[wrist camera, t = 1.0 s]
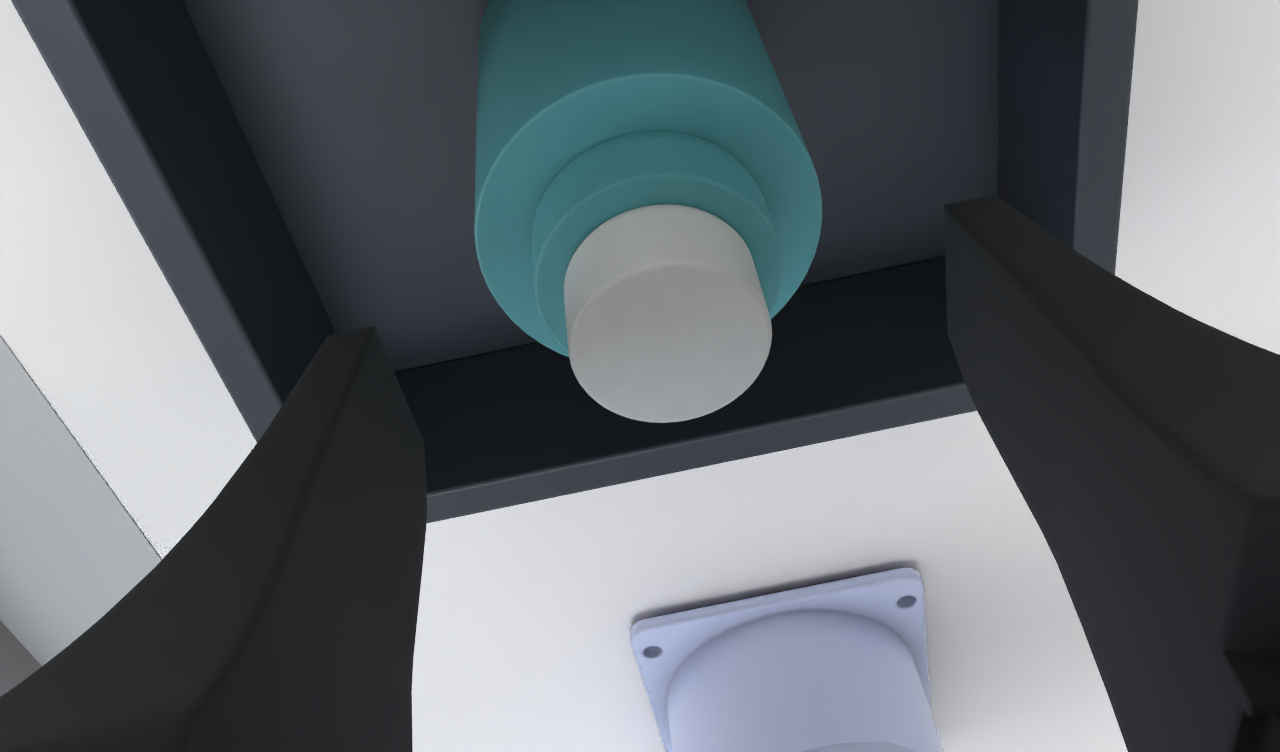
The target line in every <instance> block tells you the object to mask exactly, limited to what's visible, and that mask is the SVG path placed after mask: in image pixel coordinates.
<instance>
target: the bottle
mask: <svg viewBox="0 0 1280 752" xmlns="http://www.w3.org/2000/svg"><path fill="white" fill-rule="evenodd" d="M821 223H822V196H821V191H820V186H819V180H818V176H817V174H816V171H815V168H814V165H813V162H812V160H811V157H810V155H809V152H808V150H807V147H806V145H805V143H804V140H803V138H802V135H801V133H800V131H799V128H798V126H797V123H796V121H795V118H794V116H793V114H792V111H791V109H790V106H789V104H788V101H787V99H786V97H785V94H784V92H783V89H782V87H781V85H780V82H779V80H778V77H777V75H776V72H775V70H774V68H773V65H772V63H771V60H770V58H769V56H768V53H767V51H766V48H765V46H764V43H763V41H762V39H761V36H760V34H759V31H758V29H757V26H756V24H755V22H754V19H753V17H752V14H751V12H750V10H749V7H748V5H747V2H746V0H489V1H488V4H487V7H486V10H485V13H484V15H483V18H482V23H481V28H480V33H479V44H478V78H477V127H476V176H475V224H474V234H475V245H476V253H477V257H478V261H479V265H480V269H481V272H482V274H483V276H484V279H485V281H486V283H487V286H488V288H489V290H490V291H491V293H492V295H493V296H494V298H495V299H496V301H497V303H498V304H499V306H500V307H501V308H502V309H503V310H504V312H505V313H506V314H507V315H508V316H509V318H510V319H511V320H512V321H513V322H514V323H515V324H516V325H518V326H519V327H520V328H521V329H522V330H523V331H524V332H525V333H527V334H528V335H529V336H531V337H532V338H534V339H535V340H537V341H538V342H539V343H541V344H542V345H544V346H546V347H548V348H550V349H552V350H554V351H556V352H557V353H559V354H562V355H565V356H567V357H569V359H570V363H571V367H572V370H573V372H574V375H575V377H576V378H577V380H578V382H579V383H580V385H581V386H582V387H583V389H584V390H585V391H586V392H587V393H588V395H589V396H591V397H592V398H593V399H594V400H595V401H596V402H597V403H599V404H600V405H602V406H603V407H605V408H606V409H608V410H610V411H612V412H614V413H616V414H618V415H621V416H624V417H626V418H630V419H634V420H638V421H645V422H656V423H667V422H679V421H685V420H690V419H694V418H698V417H701V416H704V415H706V414H709V413H712V412H714V411H716V410H718V409H720V408H722V407H724V406H725V405H727V404H729V403H730V402H732V401H733V400H735V399H736V398H737V397H739V396H740V395H741V394H742V393H743V392H744V391H745V390H746V389H747V388H749V387H750V386H751V384H752V383H753V382H754V381H755V379H756V378H757V377H758V375H759V373H760V372H761V370H762V369H763V367H764V364H765V362H766V360H767V357H768V355H769V351H770V347H771V340H772V325H771V319H772V318H773V317H774V316H775V315H776V314H777V313H778V312H779V311H780V310H781V309H782V308H783V307H784V306H785V305H786V303H787V302H788V301H789V299H790V298H791V297H792V296H793V294H794V293H795V292H796V290H797V289H798V287H799V286H800V284H801V282H802V280H803V279H804V277H805V275H806V274H807V272H808V269H809V267H810V265H811V262H812V260H813V258H814V255H815V252H816V248H817V245H818V241H819V237H820V231H821Z"/></svg>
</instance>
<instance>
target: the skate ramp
mask: <svg viewBox="0 0 1280 752" xmlns="http://www.w3.org/2000/svg"><path fill="white" fill-rule="evenodd" d="M160 561H161V559H160V557H159V556H158V555H157V553H156V552H155V551H154V549H153V548H152V546H151V545H150V544H149V542H148V541H147V539H146V538H145V537H144V535H143V534H142V532H141V531H140V530H139V528H138V527H137V526H136V524H135V523H134V521H133V520H132V519H131V517H130V516H129V514H128V513H127V512H126V510H125V509H124V507H123V506H122V505H121V503H120V502H119V501H118V499H117V498H116V496H115V495H114V494H113V492H112V491H111V489H110V488H109V487H108V485H107V484H106V482H105V481H104V480H103V478H102V477H101V476H100V474H99V473H98V471H97V470H96V469H95V467H94V466H93V464H92V463H91V462H90V460H89V459H88V457H87V456H86V455H85V453H84V452H83V451H82V449H81V448H80V446H79V445H78V444H77V442H76V441H75V439H74V438H73V437H72V435H71V434H70V432H69V431H68V430H67V428H66V427H65V425H64V424H63V423H62V421H61V420H60V419H59V417H58V416H57V414H56V413H55V412H54V410H53V409H52V407H51V406H50V405H49V403H48V402H47V400H46V399H45V398H44V396H43V395H42V394H41V392H40V391H39V389H38V388H37V387H36V385H35V384H34V382H33V381H32V380H31V378H30V377H29V375H28V374H27V373H26V371H25V370H24V369H23V367H22V366H21V364H20V363H19V362H18V360H17V359H16V357H15V356H14V355H13V353H12V352H11V350H10V349H9V348H8V346H7V345H6V344H5V342H4V341H3V339H2V338H1V337H0V697H1V696H2V695H4V694H5V693H7V692H8V691H9V690H11V689H12V688H14V687H15V686H17V685H18V684H19V683H21V682H22V681H23V680H25V679H26V678H27V677H29V676H30V675H31V674H33V673H34V672H35V671H37V670H38V669H39V668H41V667H42V666H43V665H44V664H46V663H47V662H48V661H50V660H51V659H52V658H53V657H55V656H56V655H57V654H58V653H60V652H61V651H62V650H64V649H65V648H66V647H67V646H69V645H70V644H71V643H72V642H73V641H75V640H76V639H77V638H78V637H79V636H80V635H82V634H83V633H84V632H85V631H86V630H88V629H89V628H90V627H91V626H92V625H94V624H95V623H96V622H97V621H98V620H99V619H100V618H102V617H103V616H104V615H105V614H106V613H107V612H108V611H109V610H110V609H111V608H112V607H113V606H114V605H116V604H117V603H118V602H119V601H120V600H121V599H122V598H123V597H124V596H125V595H126V594H127V593H128V592H129V591H130V590H131V589H132V588H134V587H135V586H136V585H137V584H138V583H139V582H140V581H141V580H142V579H143V578H144V577H145V576H146V575H147V574H148V573H149V572H150V571H152V570H153V569H154V568H155V567H156V566H157V564H158V563H159V562H160Z"/></svg>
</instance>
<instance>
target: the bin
mask: <svg viewBox="0 0 1280 752" xmlns="http://www.w3.org/2000/svg"><path fill="white" fill-rule="evenodd" d="M11 1H12V3H13V5H14V6H15V8H16V10H17V12H18V14H19V15H20V17H21V19H22V21H23V23H24V24H25V26H26V28H27V30H28V32H29V33H30V35H31V37H32V39H33V41H34V42H35V44H36V46H37V48H38V50H39V51H40V53H41V55H42V57H43V59H44V60H45V62H46V64H47V66H48V68H49V69H50V71H51V73H52V75H53V76H54V78H55V80H56V82H57V84H58V85H59V87H60V89H61V91H62V93H63V94H64V96H65V98H66V100H67V102H68V103H69V105H70V107H71V109H72V111H73V112H74V114H75V116H76V118H77V120H78V121H79V123H80V125H81V127H82V129H83V130H84V132H85V134H86V136H87V138H88V139H89V141H90V143H91V145H92V147H93V148H94V150H95V152H96V154H97V156H98V157H99V159H100V161H101V163H102V165H103V166H104V168H105V170H106V172H107V174H108V175H109V177H110V179H111V181H112V183H113V184H114V186H115V188H116V190H117V192H118V193H119V195H120V197H121V199H122V201H123V202H124V204H125V206H126V208H127V210H128V211H129V213H130V215H131V217H132V219H133V220H134V222H135V224H136V226H137V228H138V229H139V231H140V233H141V235H142V237H143V238H144V240H145V242H146V244H147V246H148V247H149V249H150V251H151V253H152V255H153V256H154V258H155V260H156V262H157V264H158V265H159V267H160V269H161V271H162V272H163V274H164V276H165V278H166V280H167V281H168V283H169V285H170V287H171V289H172V290H173V292H174V294H175V296H176V298H177V299H178V301H179V303H180V305H181V307H182V308H183V310H184V312H185V314H186V316H187V317H188V319H189V321H190V323H191V325H192V326H193V328H194V330H195V332H196V334H197V335H198V337H199V339H200V341H201V343H202V344H203V346H204V348H205V350H206V352H207V353H208V355H209V357H210V359H211V361H212V362H213V364H214V366H215V368H216V370H217V371H218V373H219V375H220V377H221V379H222V380H223V382H224V384H225V386H226V388H227V389H228V391H229V393H230V395H231V397H232V398H233V400H234V402H235V404H236V406H237V407H238V409H239V411H240V413H241V415H242V416H243V418H244V420H245V422H246V424H247V425H248V427H249V429H250V431H251V433H252V434H253V436H254V438H255V440H256V442H257V443H258V441H259V440H260V438H261V437H262V435H263V434H264V432H265V431H266V429H267V428H268V426H269V425H270V423H271V422H272V421H273V419H274V418H275V416H276V415H277V413H278V412H279V410H280V408H281V407H282V405H283V404H284V402H285V401H286V399H287V398H288V396H289V395H290V393H291V391H292V390H293V388H294V387H295V385H296V384H297V382H298V381H299V379H300V377H301V376H302V374H303V373H304V371H305V370H306V368H307V367H308V365H309V363H310V362H311V360H312V359H313V357H314V356H315V354H316V353H317V351H318V350H319V348H320V347H321V345H322V344H323V342H324V341H325V339H326V338H327V336H330V335H335V334H340V333H344V332H349V331H354V330H359V329H363V328H368V327H373V326H375V329H376V331H377V333H378V336H379V338H380V340H381V343H382V345H383V347H384V350H385V352H386V354H387V357H388V359H389V361H390V364H391V366H392V368H393V371H394V373H395V375H396V378H397V380H398V382H399V385H400V387H401V389H402V392H403V394H404V396H405V399H406V401H407V403H408V406H409V408H410V410H411V413H412V415H413V417H414V420H415V422H416V424H417V427H418V429H419V431H420V434H421V436H422V438H423V441H424V448H425V466H426V487H427V520H426V523H430V522H435V521H440V520H445V519H450V518H455V517H460V516H465V515H470V514H474V513H479V512H484V511H489V510H494V509H499V508H504V507H509V506H513V505H518V504H523V503H528V502H533V501H538V500H543V499H548V498H553V497H557V496H562V495H567V494H572V493H577V492H582V491H587V490H592V489H597V488H601V487H606V486H611V485H616V484H621V483H626V482H631V481H636V480H640V479H645V478H650V477H655V476H660V475H665V474H670V473H675V472H680V471H684V470H689V469H694V468H699V467H704V466H709V465H714V464H719V463H723V462H728V461H733V460H738V459H743V458H748V457H753V456H758V455H763V454H767V453H772V452H777V451H782V450H787V449H792V448H797V447H802V446H806V445H811V444H816V443H821V442H826V441H831V440H836V439H841V438H846V437H850V436H855V435H860V434H865V433H870V432H875V431H880V430H885V429H890V428H894V427H899V426H904V425H909V424H914V423H919V422H924V421H929V420H933V419H938V418H943V417H948V416H953V415H958V414H963V413H968V412H973V411H977V409H976V407H975V405H974V403H973V401H972V399H971V397H970V394H969V391H968V389H967V386H966V383H965V381H964V378H963V376H962V373H961V370H960V367H959V365H958V362H957V359H956V356H955V353H954V351H953V348H952V345H951V342H950V339H949V336H948V334H947V297H946V260H945V223H944V205H945V204H950V203H954V202H959V201H964V200H968V199H973V198H978V197H982V196H987V195H992V194H994V195H996V196H997V197H999V198H1000V199H1002V200H1003V201H1005V202H1006V203H1007V204H1009V205H1010V206H1012V207H1013V208H1015V209H1016V210H1017V211H1019V212H1020V213H1022V214H1023V215H1025V216H1026V217H1027V218H1029V219H1030V220H1032V221H1033V222H1035V223H1036V224H1037V225H1039V226H1040V227H1042V228H1043V229H1045V230H1046V231H1047V232H1049V233H1050V234H1052V235H1053V236H1055V237H1056V238H1058V239H1059V240H1061V241H1062V242H1064V243H1065V244H1067V245H1068V246H1070V247H1071V248H1073V249H1074V250H1076V251H1077V252H1079V253H1080V254H1082V255H1083V256H1085V257H1086V258H1088V259H1089V260H1091V261H1093V262H1094V263H1096V264H1097V265H1099V266H1100V267H1102V268H1104V269H1105V270H1107V271H1108V272H1110V273H1112V274H1113V275H1115V265H1116V254H1117V242H1118V231H1119V219H1120V207H1121V196H1122V184H1123V173H1124V161H1125V149H1126V138H1127V126H1128V115H1129V103H1130V91H1131V80H1132V68H1133V57H1134V45H1135V33H1136V22H1137V10H1138V0H746V2H747V5H748V7H749V10H750V12H751V14H752V17H753V19H754V22H755V24H756V26H757V29H758V31H759V34H760V36H761V39H762V41H763V43H764V46H765V48H766V51H767V53H768V56H769V58H770V60H771V63H772V65H773V68H774V70H775V72H776V75H777V77H778V80H779V82H780V85H781V87H782V89H783V92H784V94H785V97H786V99H787V101H788V104H789V106H790V109H791V111H792V114H793V116H794V118H795V121H796V123H797V126H798V128H799V131H800V133H801V135H802V138H803V140H804V143H805V145H806V147H807V150H808V152H809V155H810V157H811V160H812V162H813V165H814V168H815V171H816V174H817V176H818V180H819V186H820V191H821V196H822V223H821V231H820V237H819V241H818V245H817V248H816V252H815V255H814V258H813V260H812V262H811V265H810V267H809V269H808V272H807V274H806V275H805V277H804V279H803V280H802V282H801V284H800V286H799V287H798V289H797V290H796V292H795V293H794V294H793V296H792V297H791V298H790V299H789V301H788V302H787V303H786V305H785V306H784V307H783V308H782V309H781V310H780V311H779V312H778V313H777V314H776V315H775V316H774V317H773V318H772V319H771V325H772V340H771V347H770V351H769V355H768V357H767V360H766V362H765V364H764V367H763V369H762V370H761V372H760V373H759V375H758V377H757V378H756V379H755V381H754V382H753V383H752V384H751V386H750V387H749V388H747V389H746V390H745V391H744V392H743V393H742V394H741V395H740V396H739V397H737V398H736V399H735V400H733V401H732V402H730V403H729V404H727V405H725V406H724V407H722V408H720V409H718V410H716V411H714V412H712V413H709V414H706V415H704V416H701V417H698V418H694V419H690V420H685V421H679V422H667V423H656V422H645V421H638V420H634V419H630V418H626V417H624V416H621V415H618V414H616V413H614V412H612V411H610V410H608V409H606V408H605V407H603V406H602V405H600V404H599V403H597V402H596V401H595V400H594V399H593V398H592V397H591V396H589V395H588V393H587V392H586V391H585V390H584V389H583V387H582V386H581V385H580V383H579V382H578V380H577V378H576V377H575V375H574V372H573V370H572V367H571V363H570V359H569V357H567V356H565V355H562V354H559V353H557V352H556V351H554V350H552V349H550V348H548V347H546V346H544V345H542V344H541V343H539V342H538V341H537V340H535V339H534V338H532V337H531V336H529V335H528V334H527V333H525V332H524V331H523V330H522V329H521V328H520V327H519V326H518V325H516V324H515V323H514V322H513V321H512V320H511V319H510V318H509V316H508V315H507V314H506V313H505V312H504V310H503V309H502V308H501V307H500V306H499V304H498V303H497V301H496V299H495V298H494V296H493V295H492V293H491V291H490V290H489V288H488V286H487V283H486V281H485V279H484V276H483V274H482V272H481V269H480V265H479V261H478V257H477V253H476V245H475V234H474V224H475V176H476V127H477V78H478V44H479V33H480V28H481V23H482V18H483V15H484V13H485V10H486V7H487V4H488V1H489V0H11Z"/></svg>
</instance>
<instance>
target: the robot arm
mask: <svg viewBox="0 0 1280 752" xmlns="http://www.w3.org/2000/svg"><path fill="white" fill-rule="evenodd" d="M944 223H945V260H946V297H947V334H948V336H949V339H950V342H951V345H952V348H953V351H954V353H955V356H956V359H957V362H958V365H959V367H960V370H961V373H962V376H963V378H964V381H965V383H966V386H967V389H968V391H969V394H970V397H971V399H972V401H973V403H974V405H975V407H976V409H977V411H978V413H979V415H980V417H981V419H982V421H983V422H984V424H985V426H986V428H987V430H988V432H989V434H990V436H991V438H992V439H993V441H994V443H995V445H996V447H997V449H998V451H999V453H1000V454H1001V456H1002V458H1003V460H1004V462H1005V464H1006V466H1007V467H1008V469H1009V471H1010V473H1011V475H1012V477H1013V479H1014V480H1015V482H1016V484H1017V486H1018V488H1019V490H1020V492H1021V493H1022V495H1023V497H1024V499H1025V501H1026V503H1027V505H1028V506H1029V508H1030V510H1031V512H1032V514H1033V516H1034V518H1035V519H1036V521H1037V523H1038V525H1039V527H1040V529H1041V531H1042V532H1043V534H1044V537H1045V539H1046V541H1047V543H1048V545H1049V547H1050V549H1051V551H1052V553H1053V555H1054V558H1055V560H1056V562H1057V564H1058V567H1059V569H1060V572H1061V574H1062V577H1063V579H1064V582H1065V584H1066V587H1067V589H1068V592H1069V594H1070V597H1071V599H1072V602H1073V604H1074V607H1075V609H1076V612H1077V614H1078V617H1079V619H1080V622H1081V624H1082V627H1083V629H1084V632H1085V635H1086V637H1087V640H1088V643H1089V645H1090V648H1091V651H1092V653H1093V656H1094V659H1095V661H1096V664H1097V667H1098V669H1099V672H1100V675H1101V677H1102V680H1103V683H1104V685H1105V688H1106V691H1107V693H1108V696H1109V699H1110V702H1111V704H1112V707H1113V710H1114V713H1115V716H1116V719H1117V721H1118V724H1119V727H1120V730H1121V733H1122V736H1123V738H1124V741H1125V744H1126V747H1127V750H1128V752H1280V355H1278V354H1275V353H1273V352H1270V351H1268V350H1265V349H1262V348H1260V347H1257V346H1255V345H1252V344H1250V343H1247V342H1245V341H1243V340H1240V339H1238V338H1236V337H1234V336H1231V335H1229V334H1227V333H1225V332H1222V331H1220V330H1218V329H1216V328H1213V327H1211V326H1209V325H1207V324H1204V323H1202V322H1200V321H1198V320H1196V319H1194V318H1192V317H1190V316H1188V315H1186V314H1184V313H1182V312H1180V311H1178V310H1176V309H1174V308H1172V307H1170V306H1168V305H1166V304H1165V303H1163V302H1161V301H1159V300H1157V299H1155V298H1154V297H1152V296H1150V295H1148V294H1146V293H1144V292H1143V291H1141V290H1139V289H1137V288H1135V287H1134V286H1132V285H1130V284H1129V283H1127V282H1125V281H1123V280H1122V279H1120V278H1118V277H1117V276H1115V275H1113V274H1112V273H1110V272H1108V271H1107V270H1105V269H1104V268H1102V267H1100V266H1099V265H1097V264H1096V263H1094V262H1093V261H1091V260H1089V259H1088V258H1086V257H1085V256H1083V255H1082V254H1080V253H1079V252H1077V251H1076V250H1074V249H1073V248H1071V247H1070V246H1068V245H1067V244H1065V243H1064V242H1062V241H1061V240H1059V239H1058V238H1056V237H1055V236H1053V235H1052V234H1050V233H1049V232H1047V231H1046V230H1045V229H1043V228H1042V227H1040V226H1039V225H1037V224H1036V223H1035V222H1033V221H1032V220H1030V219H1029V218H1027V217H1026V216H1025V215H1023V214H1022V213H1020V212H1019V211H1017V210H1016V209H1015V208H1013V207H1012V206H1010V205H1009V204H1007V203H1006V202H1005V201H1003V200H1002V199H1000V198H999V197H997V196H996V195H994V194H992V195H987V196H982V197H978V198H973V199H968V200H964V201H959V202H954V203H950V204H945V205H944ZM426 520H427V487H426V466H425V448H424V441H423V438H422V436H421V434H420V431H419V429H418V427H417V424H416V422H415V420H414V417H413V415H412V413H411V410H410V408H409V406H408V403H407V401H406V399H405V396H404V394H403V392H402V389H401V387H400V385H399V382H398V380H397V378H396V375H395V373H394V371H393V368H392V366H391V364H390V361H389V359H388V357H387V354H386V352H385V350H384V347H383V345H382V343H381V340H380V338H379V336H378V333H377V331H376V329H375V326H373V327H368V328H363V329H359V330H354V331H349V332H344V333H340V334H335V335H330V336H327V338H326V339H325V341H324V342H323V344H322V345H321V347H320V348H319V350H318V351H317V353H316V354H315V356H314V357H313V359H312V360H311V362H310V363H309V365H308V367H307V368H306V370H305V371H304V373H303V374H302V376H301V377H300V379H299V381H298V382H297V384H296V385H295V387H294V388H293V390H292V391H291V393H290V395H289V396H288V398H287V399H286V401H285V402H284V404H283V405H282V407H281V408H280V410H279V412H278V413H277V415H276V416H275V418H274V419H273V421H272V422H271V423H270V425H269V426H268V428H267V429H266V431H265V432H264V434H263V435H262V437H261V438H260V440H259V441H258V443H257V444H256V446H255V447H254V449H253V450H252V451H251V453H250V454H249V455H248V457H247V458H246V459H245V461H244V462H243V463H242V464H241V466H240V467H239V468H238V470H237V471H236V472H235V474H234V475H233V476H232V478H231V479H230V480H229V482H228V483H227V484H226V486H225V487H224V488H223V490H222V491H221V492H220V494H219V495H218V496H217V498H216V499H215V500H214V502H213V503H212V504H211V505H210V506H209V508H208V509H207V510H206V511H205V513H204V514H203V515H202V516H201V517H200V518H199V520H198V521H197V522H196V523H195V524H194V525H193V527H192V528H191V529H190V530H189V531H188V532H187V533H186V534H185V535H184V537H183V538H182V539H181V540H180V541H179V542H178V543H177V544H176V545H175V546H174V547H173V549H172V550H171V551H170V552H169V553H168V554H167V555H166V556H165V557H164V558H163V559H162V560H161V561H160V562H159V563H158V564H157V566H156V567H155V568H154V569H153V570H152V571H150V572H149V573H148V574H147V575H146V576H145V577H144V578H143V579H142V580H141V581H140V582H139V583H138V584H137V585H136V586H135V587H134V588H132V589H131V590H130V591H129V592H128V593H127V594H126V595H125V596H124V597H123V598H122V599H121V600H120V601H119V602H118V603H117V604H116V605H114V606H113V607H112V608H111V609H110V610H109V611H108V612H107V613H106V614H105V615H104V616H103V617H102V618H100V619H99V620H98V621H97V622H96V623H95V624H94V625H92V626H91V627H90V628H89V629H88V630H86V631H85V632H84V633H83V634H82V635H80V636H79V637H78V638H77V639H76V640H75V641H73V642H72V643H71V644H70V645H69V646H67V647H66V648H65V649H64V650H62V651H61V652H60V653H58V654H57V655H56V656H55V657H53V658H52V659H51V660H50V661H48V662H47V663H46V664H44V665H43V666H42V667H41V668H39V669H38V670H37V671H35V672H34V673H33V674H31V675H30V676H29V677H27V678H26V679H25V680H23V681H22V682H21V683H19V684H18V685H17V686H15V687H14V688H12V689H11V690H9V691H8V692H7V693H5V694H4V695H2V696H1V697H0V752H412V696H411V690H412V670H413V654H414V644H415V634H416V624H417V614H418V604H419V594H420V585H421V575H422V565H423V554H424V543H425V532H426ZM630 639H631V645H632V648H633V651H634V654H635V657H636V660H637V663H638V667H639V670H640V673H641V676H642V679H643V682H644V685H645V688H646V691H647V695H648V698H649V701H650V704H651V707H652V710H653V713H654V716H655V720H656V723H657V726H658V729H659V732H660V735H661V738H662V741H663V745H664V748H665V751H666V752H944V751H943V748H942V745H941V742H940V739H939V736H938V732H937V729H936V726H935V723H934V720H933V717H932V714H931V711H930V692H929V674H928V655H927V637H926V619H925V600H924V585H923V582H922V579H921V576H920V574H919V572H918V571H917V570H915V569H912V568H899V569H894V570H889V571H884V572H879V573H873V574H868V575H863V576H858V577H853V578H848V579H843V580H838V581H833V582H828V583H823V584H818V585H813V586H808V587H803V588H798V589H793V590H788V591H783V592H778V593H773V594H768V595H763V596H758V597H753V598H748V599H743V600H738V601H733V602H728V603H723V604H718V605H713V606H708V607H703V608H698V609H693V610H688V611H683V612H677V613H672V614H667V615H662V616H657V617H652V618H647V619H643V620H640V621H638V622H637V623H635V624H634V625H633V626H632V627H631V629H630Z"/></svg>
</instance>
